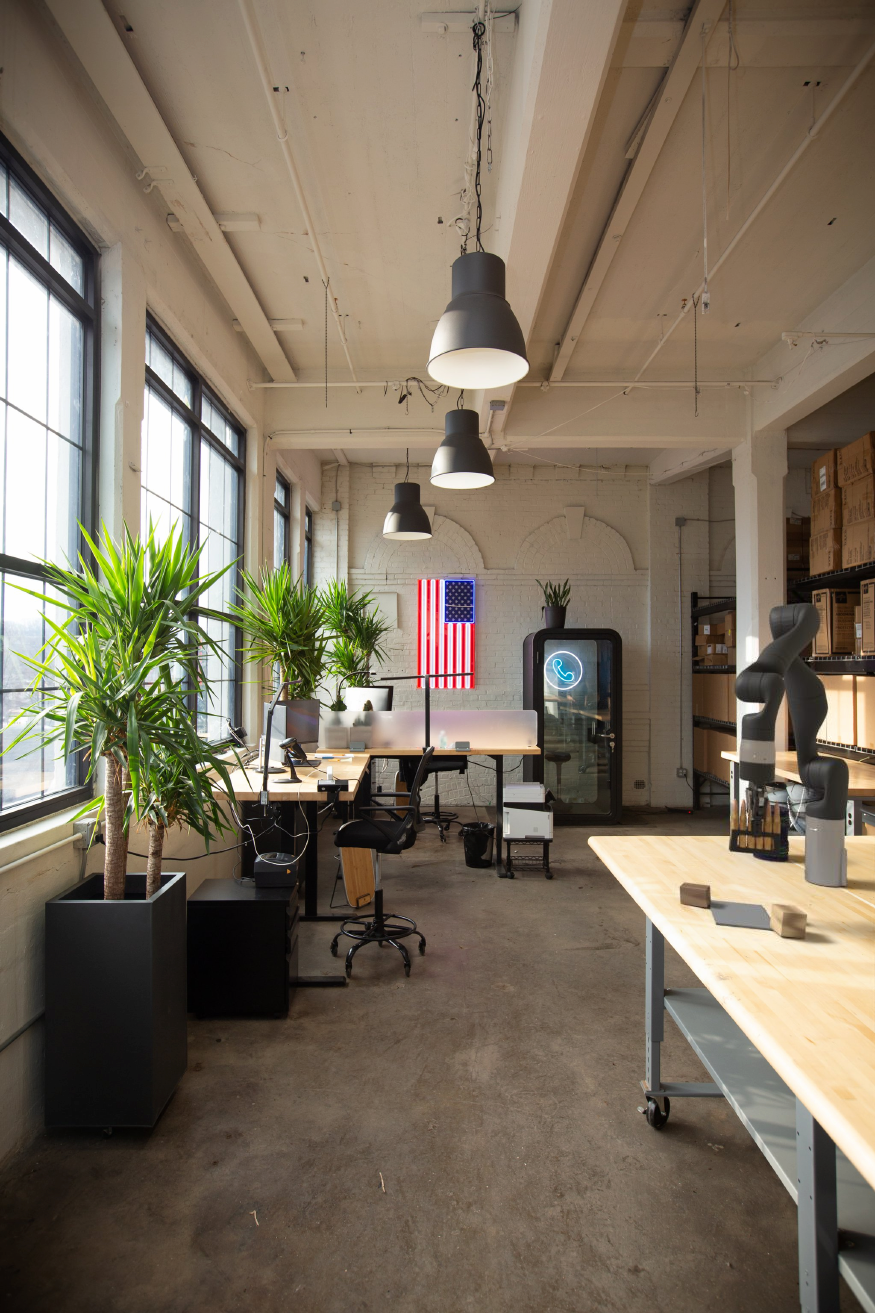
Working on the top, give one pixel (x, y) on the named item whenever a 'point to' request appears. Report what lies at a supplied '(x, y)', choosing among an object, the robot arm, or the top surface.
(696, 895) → the walnut block
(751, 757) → the robot arm
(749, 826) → the ammunition clip
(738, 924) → the pad
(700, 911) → the top surface
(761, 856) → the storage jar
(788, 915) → the oak block
